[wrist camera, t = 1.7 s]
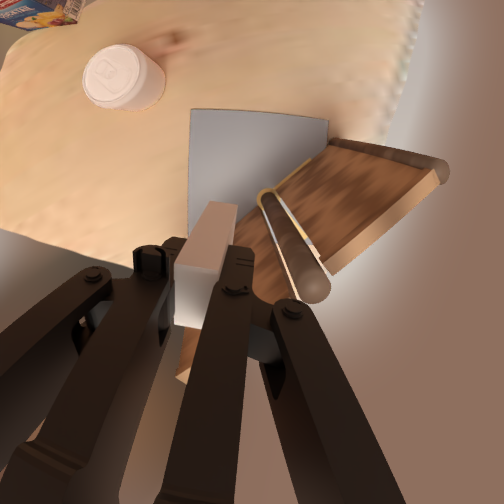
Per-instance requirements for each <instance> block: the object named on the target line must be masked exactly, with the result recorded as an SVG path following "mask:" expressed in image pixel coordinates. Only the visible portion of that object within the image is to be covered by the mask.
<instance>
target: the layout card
mask: <svg viewBox="0 0 504 504" xmlns="http://www.w3.org/2000/svg"><path fill="white" fill-rule="evenodd" d="M328 124H329V120H323V119H316V118H309V117H301V116H293V115H285V114H275V113H264V112H251V111H235V110H203V109H191V122H190V143H189V173H188V237H189V235H190V234H191V232H192V230H193V228H194V227H195V225H196V223H197V222H198V220H199V218H200V216H201V215H202V213H203V211H204V210H205V208H206V206H207V205H208V203H209V201H216V202H223V203H230V204H236V205H238V208H237V215H236V222H235V225H236V224H237V223H238V222H239V221H240V220H241V219H243V218H244V217H245V216H246V215H247V214H248V213H250V212H251V211H252V210H253V209H254V208H255V207H257V206H259V207H260V208H261V209H262V210H263V213H264V215H265V218H266V221H267V223H268V226H269V228H270V231H271V233H272V236H273V238H274V241H275V243H278V242H277V240H276V237H275V235H274V232H273V230H272V228H271V225H270V223H269V220H268V218H267V216H266V213H265V211H264V208H263V206H262V204H261V196H262V195H263V194H264V193H266V192H271V193H273V194H274V195H275V196H276V197H277V199H278V200H279V202H280V203H281V205H282V206H283V208H284V209H285V211H286V212H287V214H288V216H289V217H290V219H291V220H292V222H293V223H294V225H295V226H296V228H297V229H298V231H299V233H300V234H301V236H302V237H303V239H304V240H305V242H306V244H307V245H313V244H312V242H311V241H310V239H309V238H308V236H307V235H306V233H305V232H304V230H303V229H302V227H301V226H300V225H299V223H298V222H297V220H296V219H295V217H294V216H293V215H292V213H291V212H290V210H289V209H288V207H287V206H286V205H285V203H284V202H283V200H282V199H281V198H280V196H279V195H278V193H277V192H276V191H275V190H276V189H277V188H278V187H279V186H281V185H282V184H283V183H284V182H285V181H287V180H288V179H289V178H290V177H291V176H293V175H294V174H295V173H296V172H298V171H299V170H300V169H301V168H302V167H304V166H305V165H306V164H307V163H308V162H310V161H311V160H312V159H313V158H314V157H316V156H317V155H318V154H319V153H320V152H322V151H323V150H324V149H325V148H326V144H327V134H328Z"/></svg>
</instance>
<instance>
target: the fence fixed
mask: <svg viewBox="0 0 504 504" xmlns="http://www.w3.org/2000/svg"><path fill="white" fill-rule="evenodd" d="M449 174H450V170H449V165H448V163H447V162H446V161H445V160H441V159H438V158H434V157H430V156H427V155H422V154H418V153H414V152H410V151H405V150H400V149H396V148H391V147H386V146H381V145H376V144H370V143H365V142H359V141H353V140H346V139H340V138H332V139H330V141H329V145H328V146H327V147H326V148H325V149H324V150H323V151H322V152H320V153H319V154H318V155H317V156H316V157H314V158H313V159H312V160H311V161H310V162H308V163H307V164H306V165H305V166H304V167H302V168H301V169H300V170H299V171H298V172H296V173H295V174H294V175H293V176H291V177H290V178H289V179H288V180H287V181H285V182H284V183H283V184H282V185H281V186H279V187H278V188H277V189H276V190H275V191H276V192H277V193H278V195H279V196H280V198H281V199H282V200H283V202H284V203H285V205H286V206H287V207H288V209H289V210H290V212H291V213H292V215H293V216H294V217H295V219H296V220H297V222H298V223H299V225H300V226H301V227H302V229H303V230H304V232H305V233H306V235H307V236H308V238H309V239H310V241H311V242H312V244H313V245H314V246H315V248H316V249H317V251H318V252H319V254H320V255H321V256H320V257H319V259H320V261H321V262H322V264H323V265H324V266H325V268H326V269H327V270H328V271H329V272H330V274H331V275H332V276H333V275H335V274H336V273H337V272H338V271H340V270H341V269H342V268H343V267H345V266H346V265H347V264H348V263H350V262H351V261H352V260H353V259H355V258H356V257H357V256H358V255H359V254H361V253H362V252H363V251H364V250H365V249H367V248H368V247H369V246H370V245H371V244H373V243H374V242H375V241H376V240H377V239H379V238H380V237H381V236H382V235H383V234H385V233H386V232H387V231H388V230H389V229H390V228H391V227H393V226H394V225H395V224H396V223H397V222H398V221H399V220H401V219H402V218H403V217H404V216H405V215H406V214H407V213H408V212H409V211H411V210H412V209H413V208H414V207H415V206H416V205H417V204H418V203H420V202H421V201H422V200H423V199H424V198H425V197H426V196H427V195H428V194H429V193H430V192H431V191H432V190H434V189H435V188H436V187H437V186H438V185H442V184H444V183H445V182H446V181H447V180H448V178H449ZM261 204H262V206H263V208H264V211H265V213H266V216H267V218H268V220H269V223H270V225H271V228H272V230H273V232H274V235H275V237H276V240H277V242H278V245H279V247H280V249H281V252H282V254H283V257H284V259H285V262H286V264H287V267H288V269H289V272H290V274H291V277H292V279H293V282H294V284H295V287H296V289H297V292H298V294H299V297H300V299H301V300H302V301H303V302H305V303H308V304H316V303H319V302H321V301H323V300H324V299H326V297H327V296H328V295H329V293H330V291H331V283H330V281H329V279H328V278H327V276H326V274H325V273H324V271H323V269H322V268H321V266H320V264H319V263H318V261H317V260H316V258H315V256H314V255H313V253H312V252H311V250H310V248H309V247H308V245H307V244H306V242H305V240H304V239H303V237H302V236H301V234H300V233H299V231H298V229H297V228H296V226H295V225H294V223H293V222H292V220H291V219H290V217H289V216H288V214H287V212H286V211H285V209H284V208H283V206H282V205H281V203H280V202H279V200H278V199H277V197H276V196H275V195H274V194H273V193H271V192H266V193H264V194H263V195H262V196H261Z"/></svg>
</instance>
